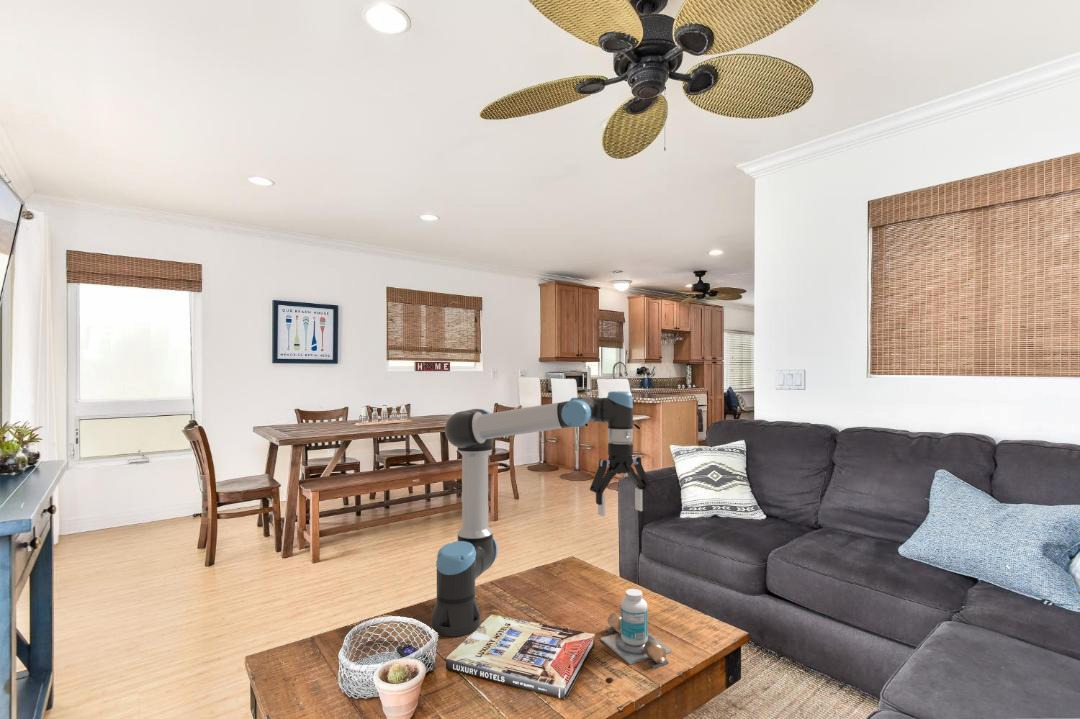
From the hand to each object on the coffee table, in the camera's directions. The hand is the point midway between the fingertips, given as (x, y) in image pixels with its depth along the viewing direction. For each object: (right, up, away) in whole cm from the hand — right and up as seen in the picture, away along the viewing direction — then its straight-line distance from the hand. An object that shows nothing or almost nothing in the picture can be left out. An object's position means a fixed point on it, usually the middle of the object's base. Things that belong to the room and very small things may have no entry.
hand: (620, 512), depth 158 cm
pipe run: (+3, -35, -11) cm, 36 cm away
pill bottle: (+2, -33, -11) cm, 35 cm away
